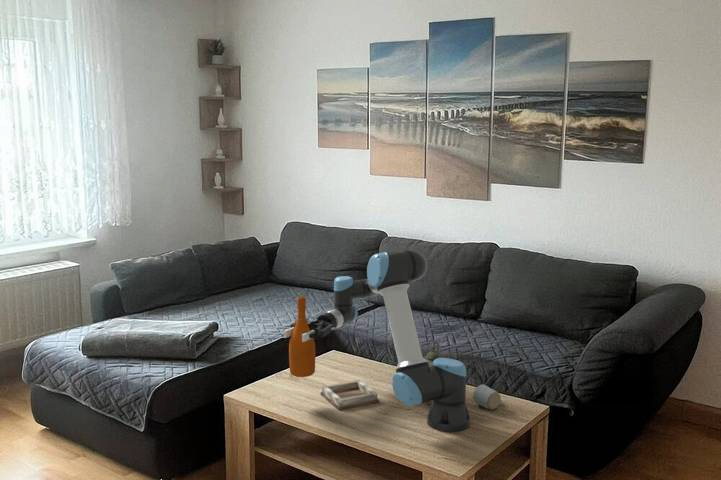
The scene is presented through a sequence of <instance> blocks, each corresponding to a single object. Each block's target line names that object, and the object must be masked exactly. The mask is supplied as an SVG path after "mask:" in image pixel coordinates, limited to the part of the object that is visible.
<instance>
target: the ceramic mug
mask: <svg viewBox="0 0 721 480" xmlns="http://www.w3.org/2000/svg"><path fill="white" fill-rule="evenodd" d="M472 398H473V401H474V403H475V404H476V405H478V406H481V407H483V408H485V409H487V410H491V411H492V410H496V409H497V408H498V407H499V406H502V405H503V402H504V401H503V400H502V399H501V398H502V397H501V395H500V393H499V392H498V391H496V390H495V389H493V388H491V387H489V386H488V385H486V384H480V385H478V386H477V387H476V388H475V390H474V391H473V396H472Z"/></svg>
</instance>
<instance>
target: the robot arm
mask: <svg viewBox="0 0 721 480" xmlns="http://www.w3.org/2000/svg"><path fill="white" fill-rule="evenodd" d="M427 270H428V262H427V259H426V258H425V256H424V255H423V254H422V253H421V252H419V251H417V250H415V249H404V250H393V251H383V252H379V253H375V254H373V255H372V256H371V257H370V258H369V260H368V264H367V267H366V276H367V278H364V279H355V280H354V278H353V277H351V276H348V275H345V276H343V275H341V276H337V277H335V278H334V282H333V284H334V285H333V298H334V299H333V302H334V304H333V307H334V308H333V309H331V310H328V311H327V312H323V313H322V314H319V315H318V317H317V318H316V319H314V320H311V321H310V319H308V318H306V321H307V324H308V326H309V328H310V330H311V331H309V332H307V333H304V334H302V342H305V341H307V340H309V339H312V338H321V339H322V338H324V337H326V336H327V335H329V334H330V333H334V332H335V331H336V330H337V329H339V328H341V327H343V326H345V325H349V324H351V323H353V322H355V320H357V318H358V315H359V312H358V309H357V307H356V305H354V300H358V299H359V300H360V299H364V298H372V297H375V298H376V297H379V296H382V298H383V302H384V307H385V310H386V314H387V318H388V323H389V328H390V332H391V335H392V340H393V345H394V349H395V352H396V357H397V362H398V363H397V365H396V367H395V372H396V373H394V375H393V376H392V382H391V385H392V389H393V392H394V395H395V396H396V398H397V400H398V401H400V402H401V404H403V405H405V406H414V405H415V406H418V405H421V404H424V403H425V402H431V405H430V408H429V411H428V414H427V417H426V418H427V421H426V423H427V425H428V426H429V427H430V428H432V429H434V430H437V431H440V432H451V433H452V432H461V431H464V430H466V429H467V428H469V427H470V425H471V417H470V414H469V411H468V410H469V409H468V407H467V404H466V401H467V399H466V398H467V397H466V396H467V395H466V393H467V392H466V391H467V389H466V388H467V367H466V365H465V364H464V363H463V362H462V361H460V360H458V359H453V358H447V357H444V358H437V359H435V360H434V361H433V366H430V367H429V363H428V361H427V360H426V359H424V358H423V353H422V350H421V344H420V340H419V337H418V332H417V328H416V324H415V321H414V317H413V312H412V311H413V310H412V308H411V303H410V300H409V296H408V289H409V287H410V283H413V282H416V281H418V280H420V279H422V278H423V277H424V276H425V275H426V273H427ZM294 324H295V323H292V324H290V328H287V329H285V330H283V334H284V335H283V338H284V339H286V338H291V335H292V333H293V330H294ZM425 404H426V403H425Z"/></svg>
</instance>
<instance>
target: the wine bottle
mask: <svg viewBox="0 0 721 480" xmlns="http://www.w3.org/2000/svg"><path fill="white" fill-rule="evenodd" d="M296 302H297V306H296V309H297V319H296V321H295V322H294V323H293V324H294V330H293V333H292V335H291V336H290V339H289V344H288V361H289V362H288V363H289V372H290V373H289V374H291V376H293V377H297V378H306V377H310V376H313V375H314V373H315V372H316V343H315V339H314V338H315V337H314V338H312V339H309V340H307V341H305V342H302V334H304V333H307V332H309V331H311V330H310V328H309V326H308V324H307V321H306V319H307V317H306V309H307V299H306V297H305V296H303V295H302V296H298V297H296Z"/></svg>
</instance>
